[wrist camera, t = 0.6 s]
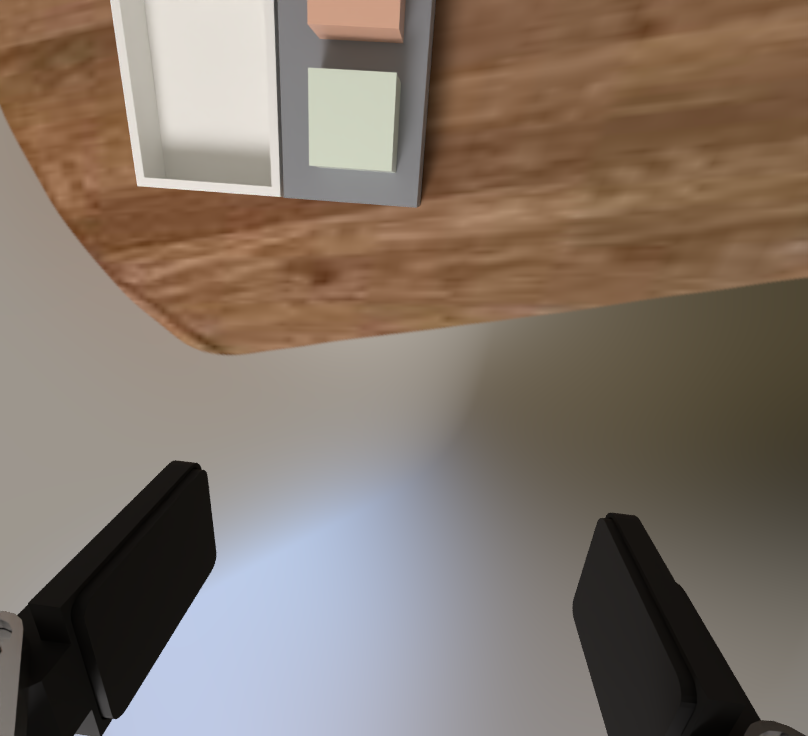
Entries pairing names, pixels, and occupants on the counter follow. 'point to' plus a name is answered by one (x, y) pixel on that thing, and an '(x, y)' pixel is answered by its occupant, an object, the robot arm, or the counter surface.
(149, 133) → the tray
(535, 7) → the counter surface
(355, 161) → the tile
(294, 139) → the plate
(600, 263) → the counter surface
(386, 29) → the tile
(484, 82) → the counter surface
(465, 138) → the counter surface
